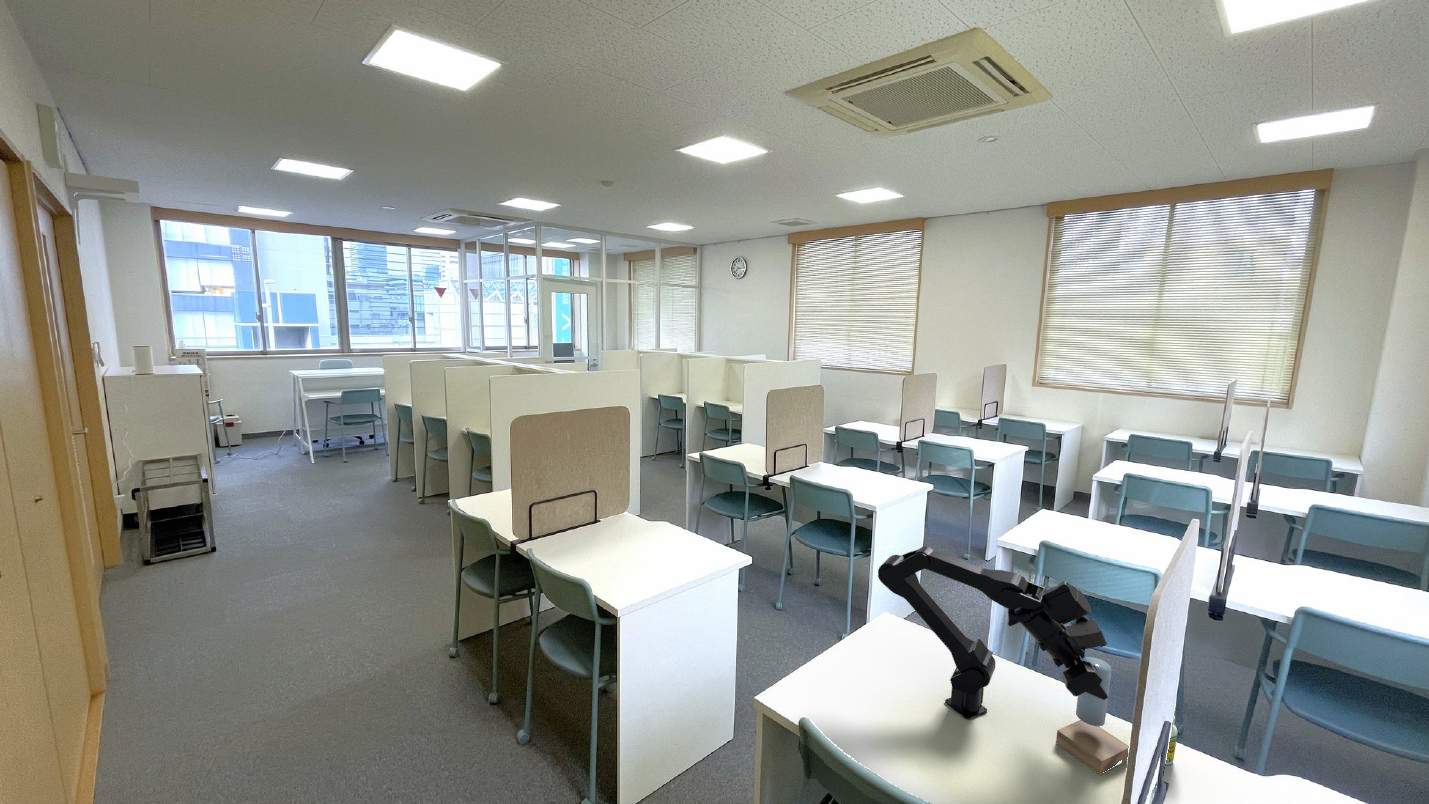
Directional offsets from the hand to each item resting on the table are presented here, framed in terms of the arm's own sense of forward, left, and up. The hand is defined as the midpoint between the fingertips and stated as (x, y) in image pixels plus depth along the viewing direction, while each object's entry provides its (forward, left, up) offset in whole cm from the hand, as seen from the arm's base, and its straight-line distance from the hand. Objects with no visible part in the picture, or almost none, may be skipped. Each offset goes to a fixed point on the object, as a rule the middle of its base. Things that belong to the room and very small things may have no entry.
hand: (1101, 689), depth 115 cm
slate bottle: (-1, +1, -7) cm, 7 cm away
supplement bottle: (+9, -7, -13) cm, 17 cm away
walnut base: (-2, -1, -13) cm, 13 cm away
